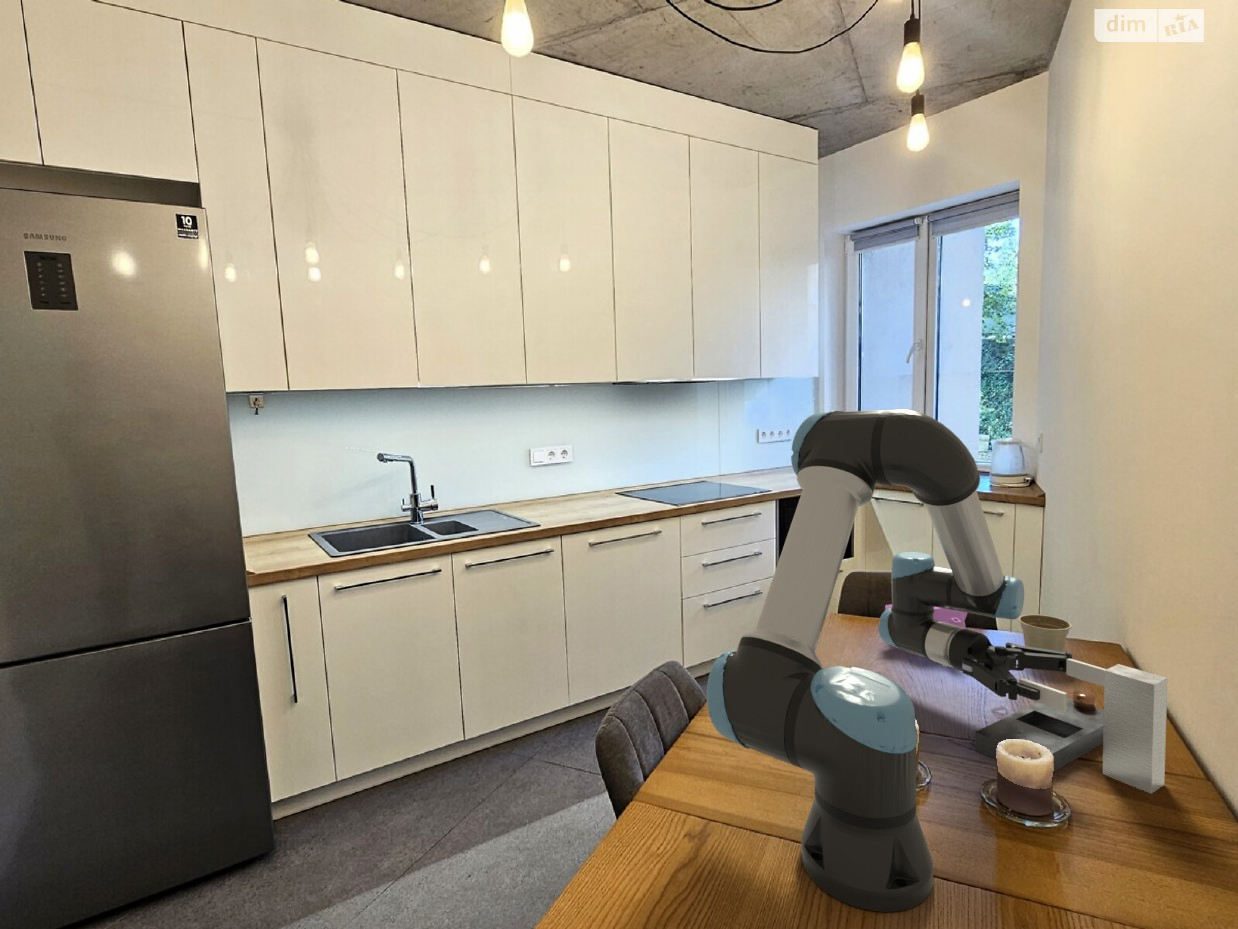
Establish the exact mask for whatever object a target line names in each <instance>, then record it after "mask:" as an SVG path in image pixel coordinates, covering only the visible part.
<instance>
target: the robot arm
mask: <svg viewBox="0 0 1238 929" xmlns="http://www.w3.org/2000/svg"><path fill="white" fill-rule="evenodd" d="M791 451H792V455H791V456H790V461H791V466H792V469H793V473H795V475H796V481H797V484H798V485H799V487H800V488H801V490H802V491H801V494H800V496H799V497H800V498H799V500H798V503H797V506H796V509H795V512H794V515H793V518H792V521H791V523H790V527H789V530H788V532H787V536H786V538H785V541H784V545H783V547H782V551H781V552H780V553H781V554H780V556H779V560H778V562H777V565H776V568H775V571H774V574H773V577H772V579H771V582H770V586H769V589H768V591H767V594H766V596H765V597H766V598H765V599H764V604H763V605H762V606H763V607H762V609H761V613H760V615H759V617H758V621H757V624H756V627H755V629H754V630H751V631H749V632H746V633H745V634H743V635H742V636H741V638H740V640H739V643H738V646H737V648H736V650H730V651H725V652H722V653H721V654H720V657H717V658H716V660H715V661H714V662H713V665H712V667H711V669H710V671H709V675H708V680H707V684H706V685H707V686H706V704H707V705H706V707H707V709H708V714H709V718H710V722H711V724H712V725H713V728H715V730H716V732H718V733H719V734H720V735H721V736H722V737H724V738H726V739H727V740H729V741H732V742H734V743H737V744H738V745H739V746H741V747H743V749H747V750H753V751H755V752H758V753H760V754H761V753H762V754H764V755H766V756H769V757H771V758H774V759H776V760H779V761H782V762H784V763H787V764H790V765H792V766H795V767H798V768H799V769H802V770H805V771H808V772H809V773H811V774H813V776H814V779H813V780H814V799H813V802H812V805H811V806H810V810H809V813H808V816H807V819H806V822H805V824H804V828H803V831H802V834H801V843H800V844H801V862H802V865H803V867H804V870H805V872H806V873H807V875H808V876H809V878H810V879H811V880H812V881H813V882H814V884H816V886H818V887H819V888H820V889H821V890H823V891H824V892H825V893H826V894H827V895H830V896H831V897H833V898H835V899H836V900H839V901H840V902H842V903H844V904H847V905H849V906H852V907H856V908H859V909H863V910H867V911H873V912H885V913H886V912H887V913H888V912H890V913H891V912H901V911H905V910H909V909H911V908H914V907H916V906H918V905H920V904H921V903H923V902H925V901H926V899H927V898H928V897H929V895H930V894H931V893H932V889H933V885H934V865H933V858H932V857H933V856H932V855H931V852H930V849H929V845H928V844H927V839H926V837H925V835H924V831H923V828H922V825H921V823H920V821H919V817H918V815H917V745H918V738H919V734H918V729H917V726H916V716H915V714H916V712H915V707H914V703H913V701H912V699H911V697H910V696H909V695H908V694H907V693H906V691H905V690H904V689H903V687H901V686H900V685H899V684H897V682H894V681H893V680H892V679H890V678H889V677H887V676H885V675H882V674H881V673H877V672H875V671H871V670H868V669H866V668H862V667H857V666H849V667H845V666H844V665H831V666H826V667H824V668H823V665H822V663H821V661H820V660H819V657H818V655H817V653H816V650H817V646H818V643H819V640H820V637H821V633H822V630H823V626H824V625H825V624H824V623H825V619H826V616H827V613H828V610H829V606H830V604H831V600H832V596H833V593H834V590H835V586H836V583H837V580H838V577H839V573H840V569H841V566H842V563H843V560H844V556H845V553H846V549H847V546H848V543H849V541H850V540H849V539H850V536H851V533H852V529H853V525H854V522H855V519H856V517H857V513H858V509H859V507H862V506H865V505H867V504H868V503H870V502H871V500H872V498H873V495H874V492H875V490H876V489H875V488H876V487H877V486H890V487H891V486H893V487H894V486H900V487H905V488H908V489H910V490H911V493H912V494H913V496H914V498H916V499H917V500H918V501H919V502H920V503H922V504H924V505H925V508H926V509H927V512H928V515H929V518H930V520H931V522H932V524H933V528H934V529H935V532H936V536H937V537H938V540H939V541H940V542H939V543H940V545H941V547H942V550H943V553H944V555H945V557H946V560H947V562H948V565H949V566H950V567H949V568H947V567H939V566H936V563H935V559H934V557H933V556H932V555H931V554H929V553H924V552H918V551H905V552H899V553H896V554H895V555H894V556H893V557H892V559H891V560H892V561H891V564H892V565H891V575H890V580H891V582H890V583H891V604H892V608H889V609H887V610H886V611H885V610H884V611H883V612H882V614H881V615H880V621H879V622H878V623H877V627H878V628H877V629H878V634H879V637H880V638H881V640H882V641H883V643H885V644H888V645H890V646H892V647H894V648H897V649H898V650H900V651H903V652H907V653H910V654H913V655H915V656H919V657H922V658H925V659H928V660H930V661H933V662H936V663H938V664H941V666H943V667H946V668H947V667H950V668H954V669H955V670H957V671H960V672H962V674H964V675H966V676H969V677H971V678H973V679H975V680H976V681H977V682H978V683H980V684H982V685H983V686H984V687H985V688H986V689H988V690H990V692H992V693H994V694H995V695H997V696H998V697H1001V698H1006V697H1007V696H1008V697H1007V698H1008V700H1011V701H1017V700H1018V696H1020V697H1022V698H1025V699H1027V700H1030V701H1033V702H1035V703H1041V704H1044V705H1046V706H1049V707H1052V708H1055V709H1057V710H1060V711H1063V712H1065V711H1067V698H1068V696H1067V695H1068V693H1067V692H1065V691H1062V690H1059V689H1056V688H1053V687H1050V686H1047V685H1045V684H1042V683H1038V682H1035V681H1033V680H1029V679H1026V678H1024V677H1021V678H1018V679H1017V678H1016V677H1015V675H1013V674H1012V673H1011V671H1016V672H1017V671H1019V672H1023V671H1024V670H1025V669H1028V670H1037V671H1038V670H1039V671H1052V672H1061V673H1065V674H1066V676H1069V677H1072V678H1075V679H1078V680H1082V681H1083V682H1088V683H1092V684H1094V685H1098V686H1101V687H1104V683H1105V670H1107V669H1108V668H1107V669H1106V668H1103V667H1101V666H1097V665H1093V664H1090V663H1087V662H1084V661H1080V660H1077V659H1073V653H1072V652H1070V651H1063V652H1062V651H1055V650H1049V649H1042V648H1035V647H1028V646H1025V645H1022V644H1017V643H1013V642H1010V641H1009V642H1005V646H1002V645H996V646H994V645H993V644H992V643H991V640H990V639H989V638H988V637H987V635H985V634H984V633H981V632H977V631H975V630H971V629H968V628H966V629H964V628H962V627H959V626H956V625H952V624H949V623H945V622H941V621H938V620H935V619H934V607H939V608H944V609H950V610H956V611H962V612H967V613H968V614H975V615H979V616H985V617H990V618H993V619H996V618H998V619H1005V620H1006V619H1007V620H1017V619H1018V618H1019V617H1020V616H1021V614H1022V613H1023V612H1022V611H1023V610H1024V609H1023V608H1024V603H1025V587H1024V583H1023V581H1022V579H1019V578H1018V577H1015V576H1010V575H1008V574H1005V575H1004V573H1003V571H1002V567H1001V564H1000V560H999V558H998V554H997V551H996V549H995V545H994V542H993V539H992V536H991V532H990V529H989V526H988V523H987V520H986V516H985V513H984V510H983V507H982V504H981V500H980V498H979V497H980V496H979V495H978V494H979V493H978V489H979V486H980V484H981V476H980V472H979V470H978V465H977V463H976V461H975V458H974V457H973V455H972V453H971V452H970V450H969V448H968V447H967V446H966V445H965V444H964V442H963V441H962V440H961V439H960V438H959V437H958V436H957V434H955V432H953V431H952V430H951V429H950V428H949V427H947V426H946V425H945V424H943V423H941V422H940V421H939V420H937V419H936V418H933V417H931V416H930V415H927V414H925V413H923V412H920V411H916V410H914V409H912V410H911V409H907V408H906V409H904V408H900V409H899V408H897V409H880V410H879V409H878V410H860V411H859V410H857V411H856V410H851V411H849V410H847V411H844V410H838V409H834V410H829V411H825V412H817V413H813V414H811V415H809V416H808V417H807V418H805V419H804V420H803V421H802V422H801V423H800V425H799V426H798V428H797V430H796V431H795V434H794V437H793V440H792V444H791Z"/></svg>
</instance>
